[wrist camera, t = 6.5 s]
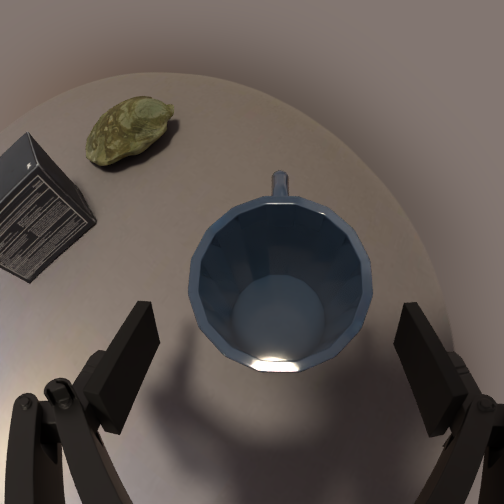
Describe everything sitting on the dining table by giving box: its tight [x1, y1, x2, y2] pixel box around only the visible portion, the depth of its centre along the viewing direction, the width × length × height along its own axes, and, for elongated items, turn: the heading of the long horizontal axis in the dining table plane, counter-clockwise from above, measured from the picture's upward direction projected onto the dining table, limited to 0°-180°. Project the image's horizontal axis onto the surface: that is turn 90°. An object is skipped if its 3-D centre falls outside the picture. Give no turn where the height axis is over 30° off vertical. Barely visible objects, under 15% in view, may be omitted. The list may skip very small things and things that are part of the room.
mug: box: [188, 170, 373, 372], centre depth 20 cm, size 11×8×12 cm
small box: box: [0, 132, 96, 283], centre depth 25 cm, size 11×6×10 cm, turn 129°
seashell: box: [86, 96, 174, 166], centre depth 32 cm, size 10×7×10 cm
